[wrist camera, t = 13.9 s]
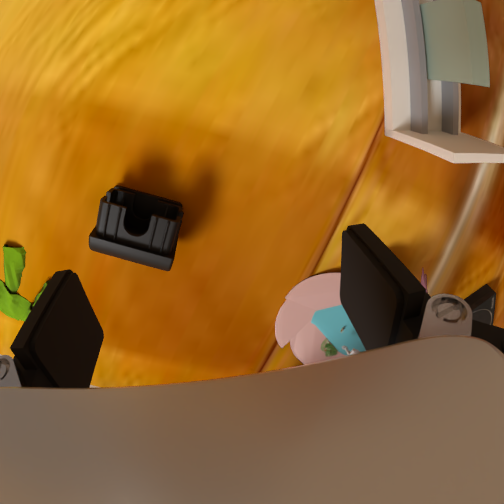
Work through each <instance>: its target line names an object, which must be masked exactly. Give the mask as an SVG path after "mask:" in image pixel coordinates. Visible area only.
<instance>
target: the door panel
mask: <svg viewBox="0 0 504 504" xmlns="http://www.w3.org/2000/svg"><path fill="white" fill-rule="evenodd" d="M420 11H421V19H422V26H423V35H424V44H425V56H426V70H427V79H430V80H439V81H448V82H457V83H465V84H472V85H478V86H485V87H490V76H489V60H488V49H487V40H486V32H485V24H484V18H483V12H482V6H481V2H478V1H476V0H437V1H432V2H428V3H424V4H420Z"/></svg>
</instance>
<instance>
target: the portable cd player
mask: <svg viewBox="0 0 504 504" xmlns="http://www.w3.org/2000/svg"><path fill="white" fill-rule="evenodd" d="M495 300H496V293H495V292H494V291H493V290H492V289H491V288H490V287H489V286H488V285H487V284H486V285H484V286H483V287H481V288H480V289H479V290H477V291H476V292H474V293H473V294H471V295H470V296H469V297H467V298H466V299H464V301H465V302H466V303H467V304H468V305H469V306H470V308H471V310H472V319H473V320H476V321H479V322H483V323H486V324H490V325H493V319H494V310H495Z"/></svg>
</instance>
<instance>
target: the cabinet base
mask: <svg viewBox="0 0 504 504" xmlns="http://www.w3.org/2000/svg"><path fill="white" fill-rule="evenodd" d="M432 1H437V0H375V7H376V14H377V21H378V29H379V38H380V48H381V59H382V72H383V88H384V112H385V136H388V137H391V138H394V139H396V140H399V141H402V142H404V143H407V144H409V145H412V146H414V147H417V148H419V149H422V150H424V151H427V152H429V153H431V154H434V155H436V156H438V157H441V158H443V159H445V160H447V161H450V162H452V163H504V147H501V146H499V145H496V144H493V143H491V142H488V141H485V140H483V139H480V138H477V137H474V136H471V135H468V134H465V133H462V132H460V131H461V83H457V82H448V81H439V80H430V79H427V70H426V56H425V44H424V35H423V26H422V19H421V11H420V4H424V3H428V2H432Z"/></svg>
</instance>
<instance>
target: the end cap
mask: <svg viewBox="0 0 504 504" xmlns="http://www.w3.org/2000/svg"><path fill="white" fill-rule="evenodd" d="M182 209H183V208H182V204H181V203H180V202H176V201H173V200H169V199H166V198H162V197H159V196H155V195H151V194H148V193H144V192H141V191H137V190H133V189H130V188H126V187H122V186H115V187H114V188H111V189H110V190H109V191H108V192H107V194H106V196H104V197H103V198H101V201H100V206H99V212H98V218H97V224H96V226H95V228H94V229H93V231H92V232H91V233H90V235H89V247H90V249H91V250H93V251H96V252H100V253H103V254H107V255H110V256H114V257H117V258H121V259H124V260H128V261H132V262H135V263H139V264H143V265H146V266H150V267H154V268H158V269H161V270H165V271H170V269H171V267H172V264H173V261H174V257H175V251H176V246H177V240H178V233H179V230H180V226H181V223H182V217H183V214H184V213H183V211H182Z"/></svg>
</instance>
